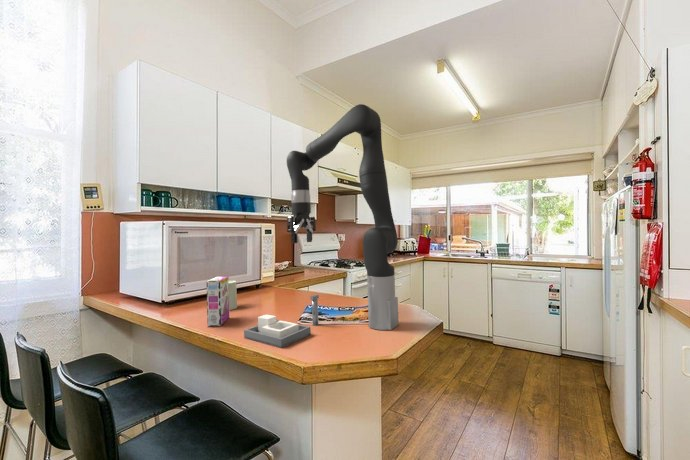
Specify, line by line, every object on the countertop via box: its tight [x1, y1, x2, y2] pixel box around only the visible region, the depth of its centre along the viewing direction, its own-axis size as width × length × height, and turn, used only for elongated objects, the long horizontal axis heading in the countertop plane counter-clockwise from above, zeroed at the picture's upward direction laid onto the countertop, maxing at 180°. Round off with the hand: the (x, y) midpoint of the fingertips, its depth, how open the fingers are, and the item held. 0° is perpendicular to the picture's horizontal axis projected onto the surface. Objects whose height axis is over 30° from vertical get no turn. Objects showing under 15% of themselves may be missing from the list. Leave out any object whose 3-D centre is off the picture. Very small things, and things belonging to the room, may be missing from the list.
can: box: [228, 279, 238, 311], centre depth 138 cm, size 9×9×12 cm
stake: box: [309, 294, 320, 326], centre depth 110 cm, size 2×3×10 cm, turn 145°
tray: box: [243, 319, 312, 349], centre depth 99 cm, size 17×13×2 cm
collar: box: [257, 313, 300, 338], centre depth 100 cm, size 12×8×5 cm, turn 55°
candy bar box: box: [206, 275, 230, 328], centre depth 117 cm, size 11×5×16 cm, turn 5°
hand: (302, 242), depth 126 cm, fingers open, 8 cm apart
